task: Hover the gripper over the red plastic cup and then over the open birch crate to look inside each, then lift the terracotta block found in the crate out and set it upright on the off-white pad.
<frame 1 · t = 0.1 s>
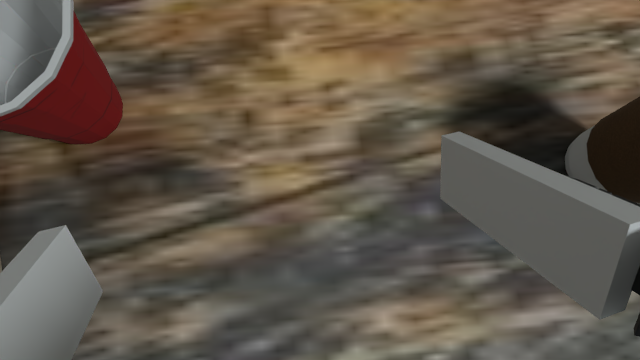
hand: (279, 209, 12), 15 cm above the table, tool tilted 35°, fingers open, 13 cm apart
plastic cup: (86, 114, 27), on the table
coffee cup: (591, 167, 32), on the table
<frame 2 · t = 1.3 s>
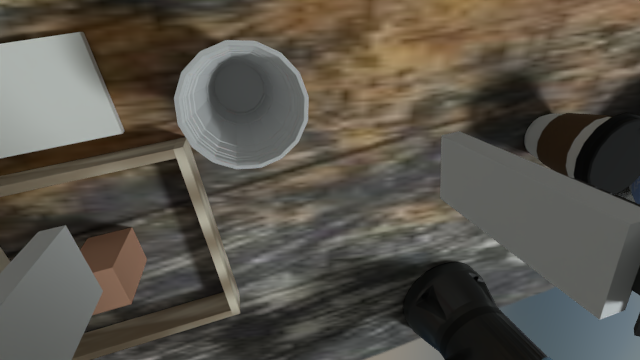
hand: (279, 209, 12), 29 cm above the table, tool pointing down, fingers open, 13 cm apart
plastic cup: (239, 89, 38), on the table
block: (108, 269, 38), in the crate
crate: (118, 249, 41), on the table
pad: (30, 98, 33), on the table
coffee cup: (539, 133, 52), on the table
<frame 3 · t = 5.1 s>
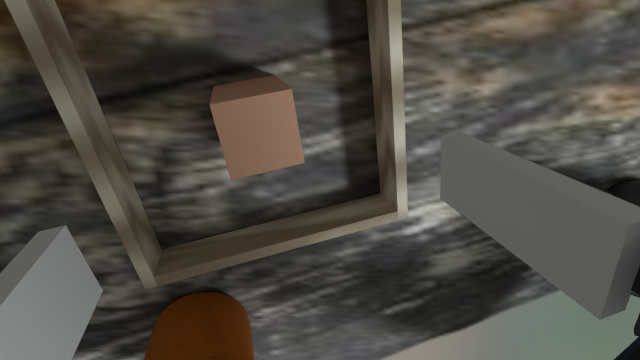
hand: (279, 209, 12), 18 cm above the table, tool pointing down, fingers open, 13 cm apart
wine bottle: (203, 320, 36), on the table
block: (255, 121, 25), in the crate
crate: (251, 110, 28), on the table
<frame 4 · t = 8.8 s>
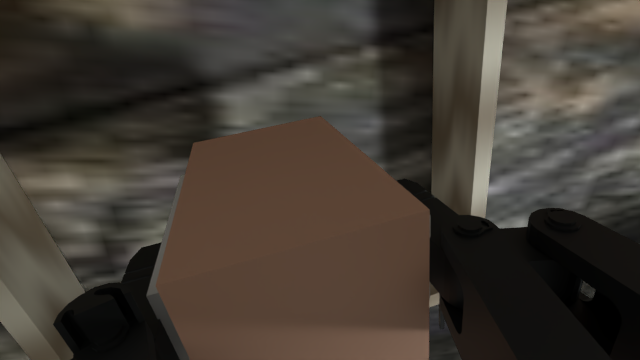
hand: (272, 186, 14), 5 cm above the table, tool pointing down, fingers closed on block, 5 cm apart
block: (288, 237, 11), point 9 cm above the table, touching gripper
crate: (252, 143, 18), on the table
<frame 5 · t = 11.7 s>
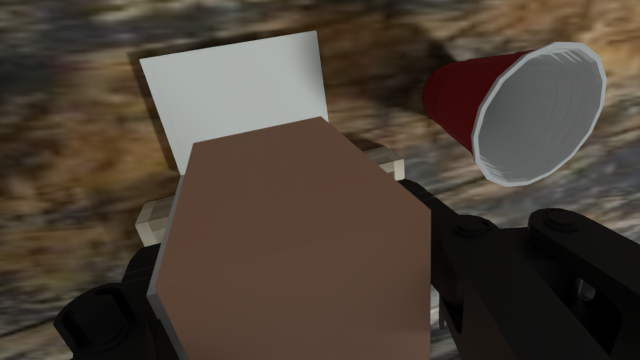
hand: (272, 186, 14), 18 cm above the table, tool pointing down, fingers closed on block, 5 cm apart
plastic cup: (444, 94, 35), on the table
block: (288, 237, 10), point 22 cm above the table, touching gripper
crate: (294, 267, 38), on the table
pad: (245, 104, 30), on the table
when the fingers open (2 cm above the table, at t = 15.1 s): block stays where it is, resting on pad.
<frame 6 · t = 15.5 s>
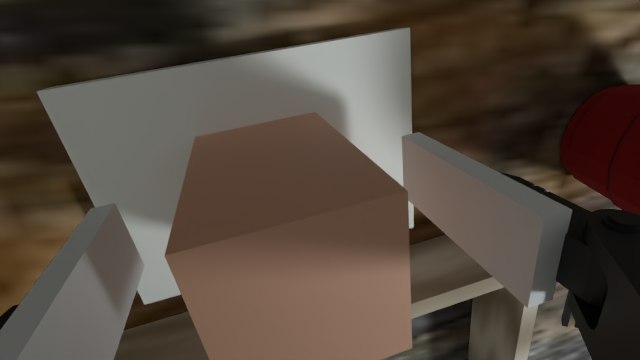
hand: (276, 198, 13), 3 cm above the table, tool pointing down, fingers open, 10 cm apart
plastic cup: (593, 135, 21), on the table
block: (284, 223, 11), on the pad, point 5 cm above the table
pad: (266, 167, 16), on the table
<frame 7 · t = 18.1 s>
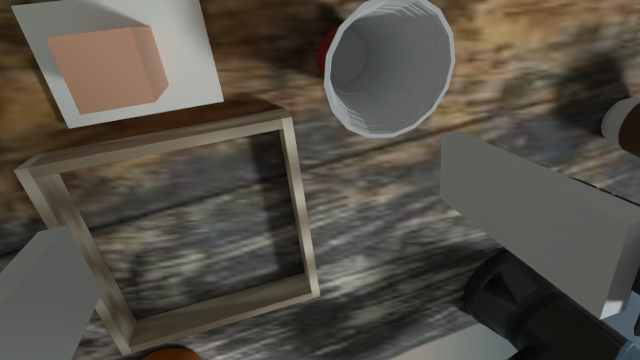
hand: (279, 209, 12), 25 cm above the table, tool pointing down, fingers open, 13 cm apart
plastic cup: (341, 59, 36), on the table
block: (119, 65, 26), on the pad, point 5 cm above the table
crate: (201, 227, 39), on the table
pad: (132, 58, 30), on the table
coffee cup: (615, 118, 51), on the table
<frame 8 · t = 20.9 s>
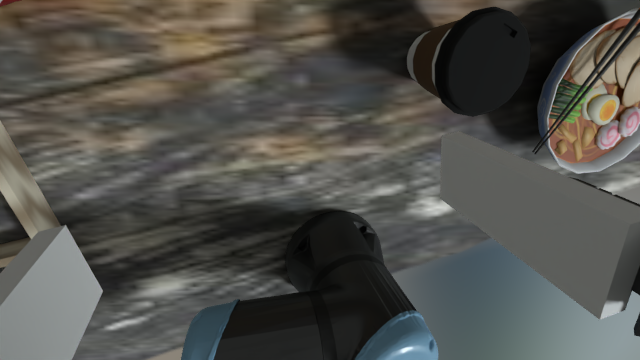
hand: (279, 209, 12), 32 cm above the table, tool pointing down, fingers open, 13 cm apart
ramen bowl: (566, 90, 53), on the table
coffee cup: (426, 57, 45), on the table
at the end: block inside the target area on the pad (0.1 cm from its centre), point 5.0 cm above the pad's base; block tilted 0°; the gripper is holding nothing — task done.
